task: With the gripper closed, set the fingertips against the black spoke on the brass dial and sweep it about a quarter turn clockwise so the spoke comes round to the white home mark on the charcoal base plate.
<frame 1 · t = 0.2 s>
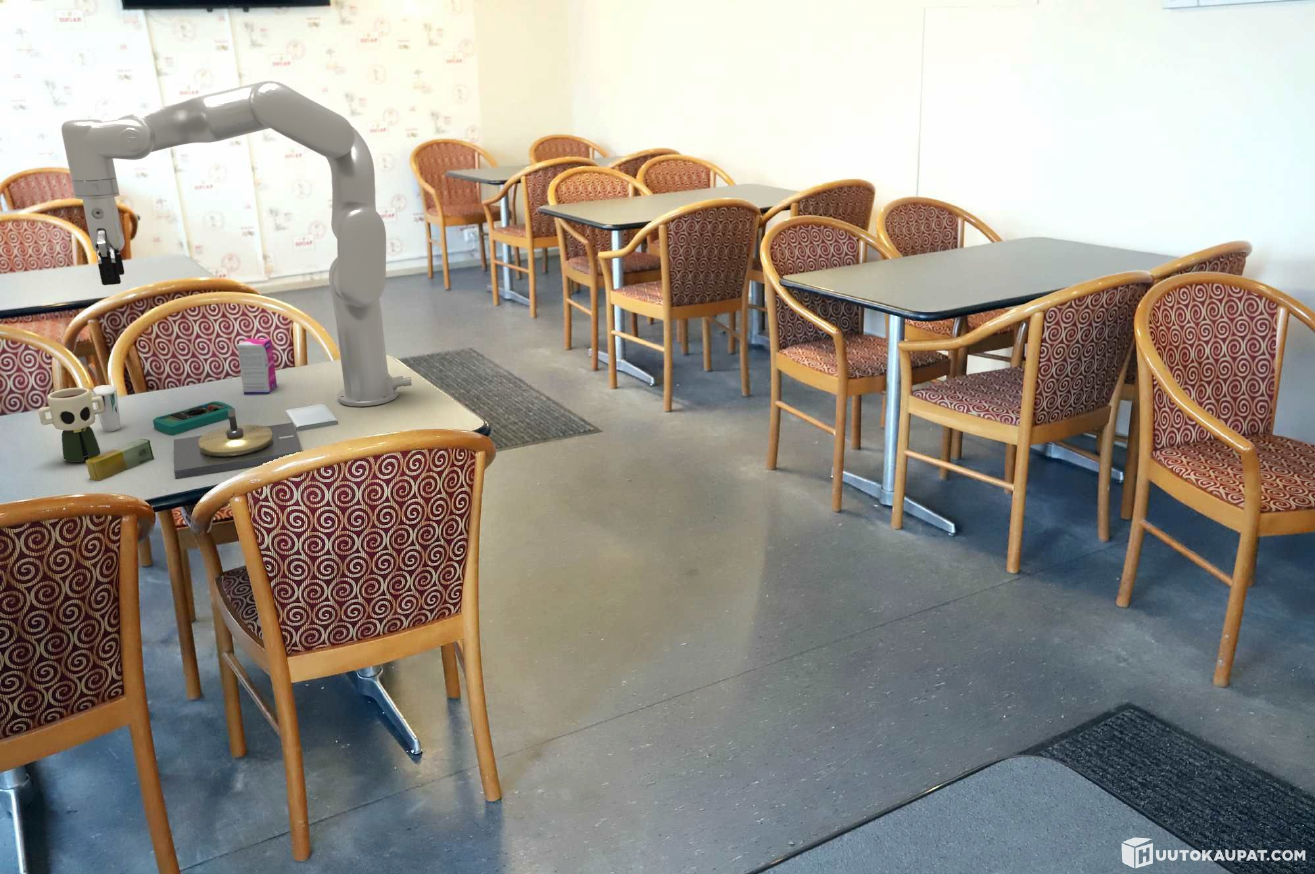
hand: (113, 279, 204), 31 cm above the table, tool pointing down, fingers open, 9 cm apart
medication box: (122, 470, 195), on the table
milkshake: (110, 430, 215), on the table
digital multimeter: (196, 425, 219), on the table
dial: (234, 431, 200), point 4 cm above the table, hinge at 0.0°
hard drive: (312, 422, 219), on the table
base plate: (238, 452, 201), on the table
character mug: (83, 459, 200), on the table
supplement box: (261, 391, 238), on the table
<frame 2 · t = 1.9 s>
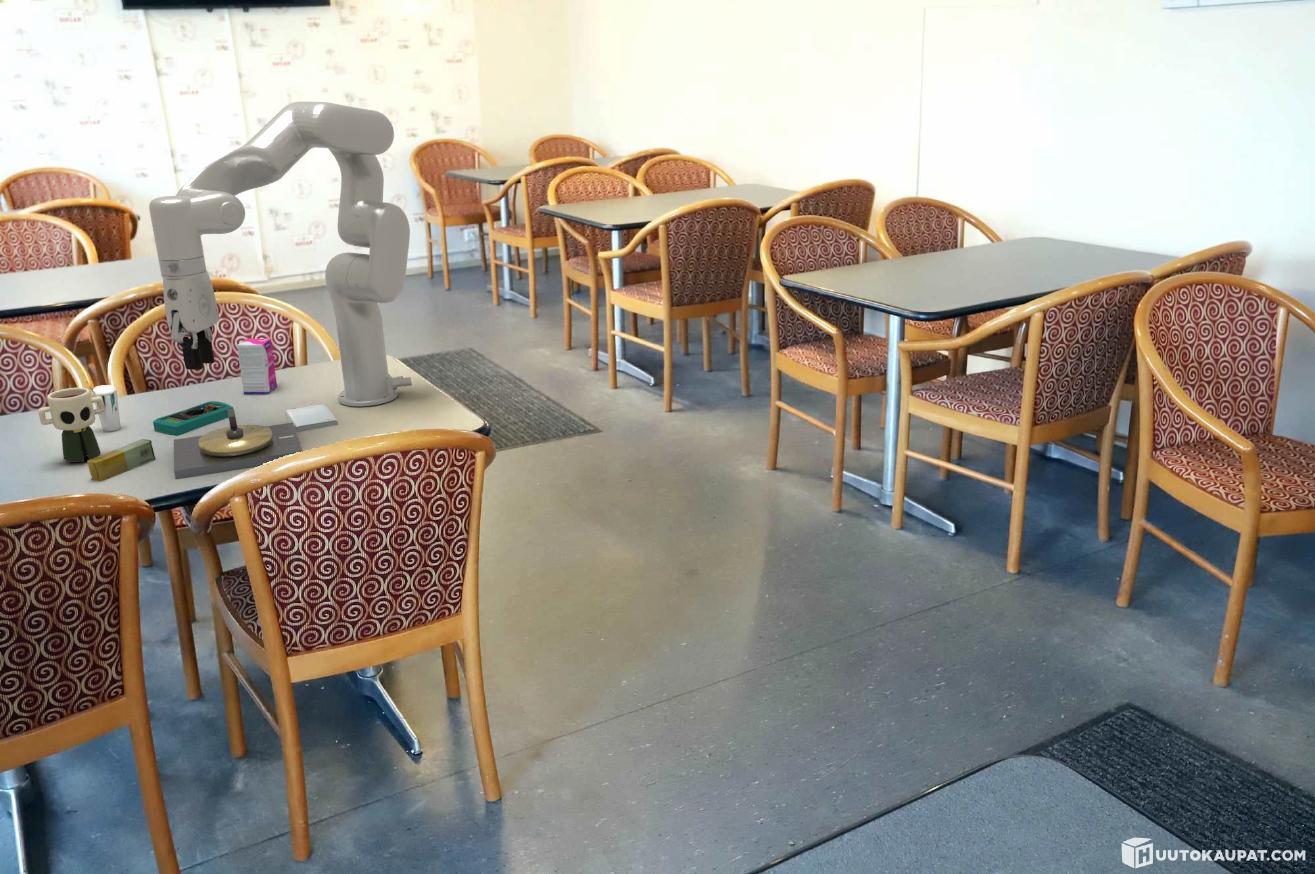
hand: (200, 365, 196), 17 cm above the table, tool pointing down, fingers open, 3 cm apart
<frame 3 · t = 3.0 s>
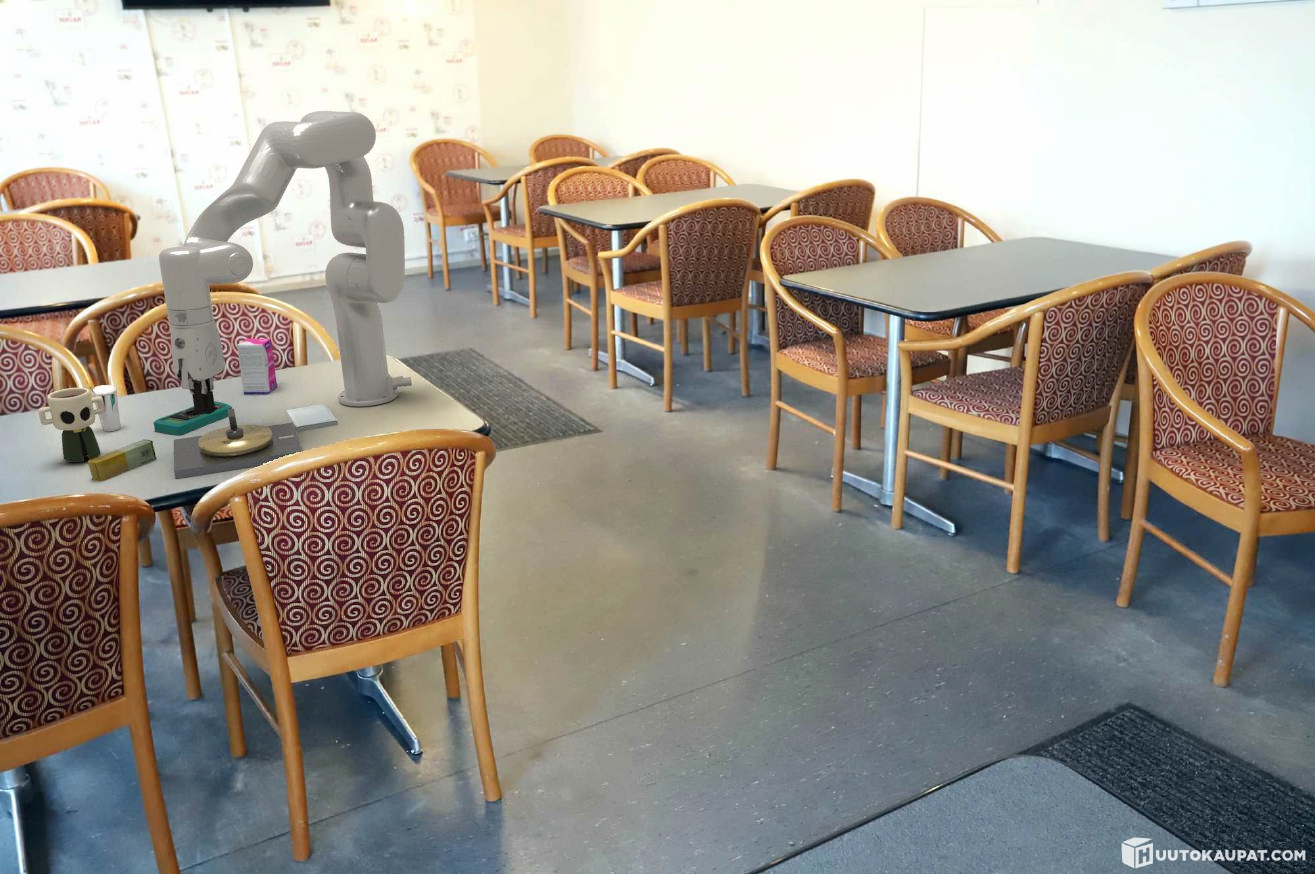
hand: (205, 412, 198), 8 cm above the table, tool pointing down, fingers closed
nothing on the table moved.
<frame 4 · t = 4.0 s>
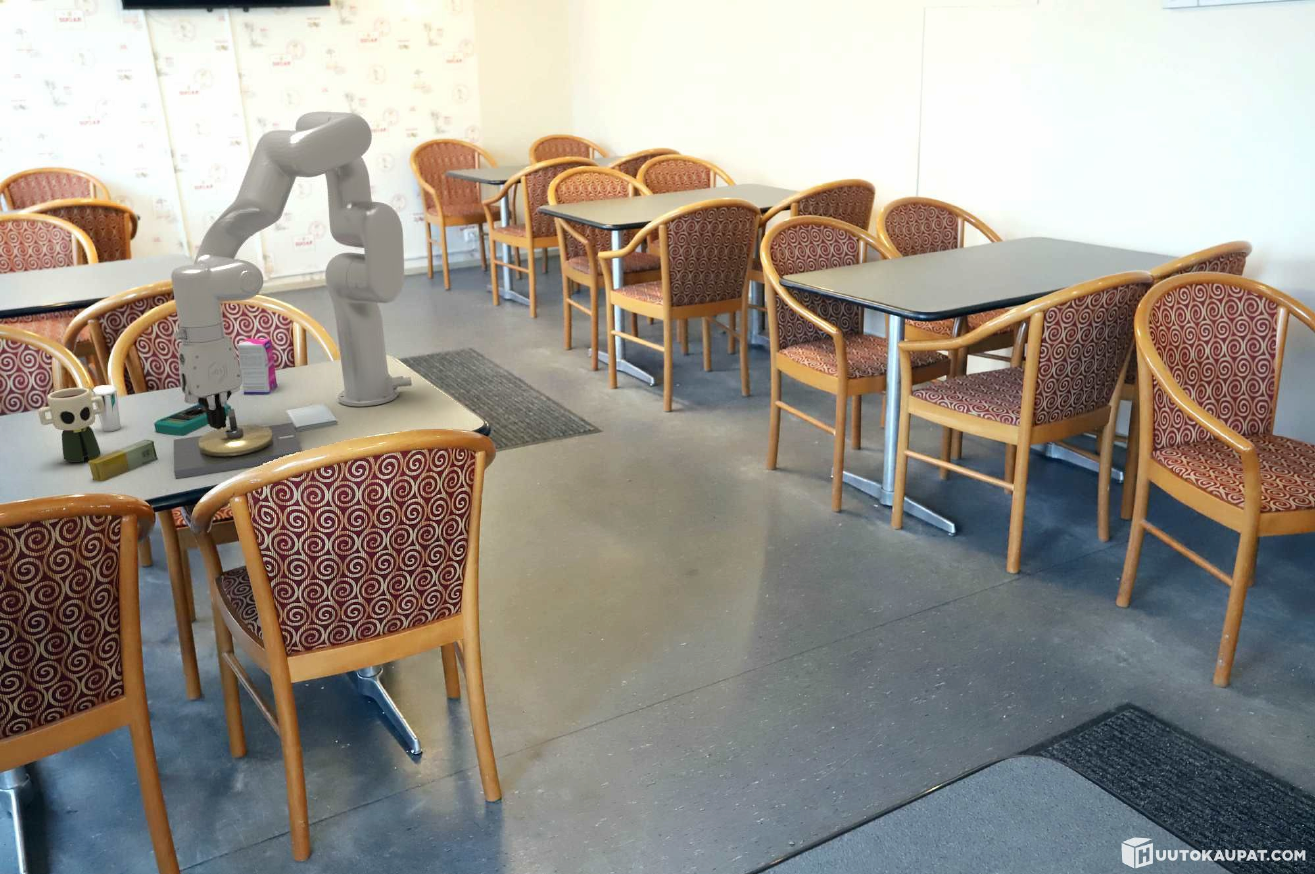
hand: (218, 426, 202), 4 cm above the table, tool pointing down, fingers closed
dial: (234, 431, 200), point 4 cm above the table, hinge at 0.0°, touching gripper
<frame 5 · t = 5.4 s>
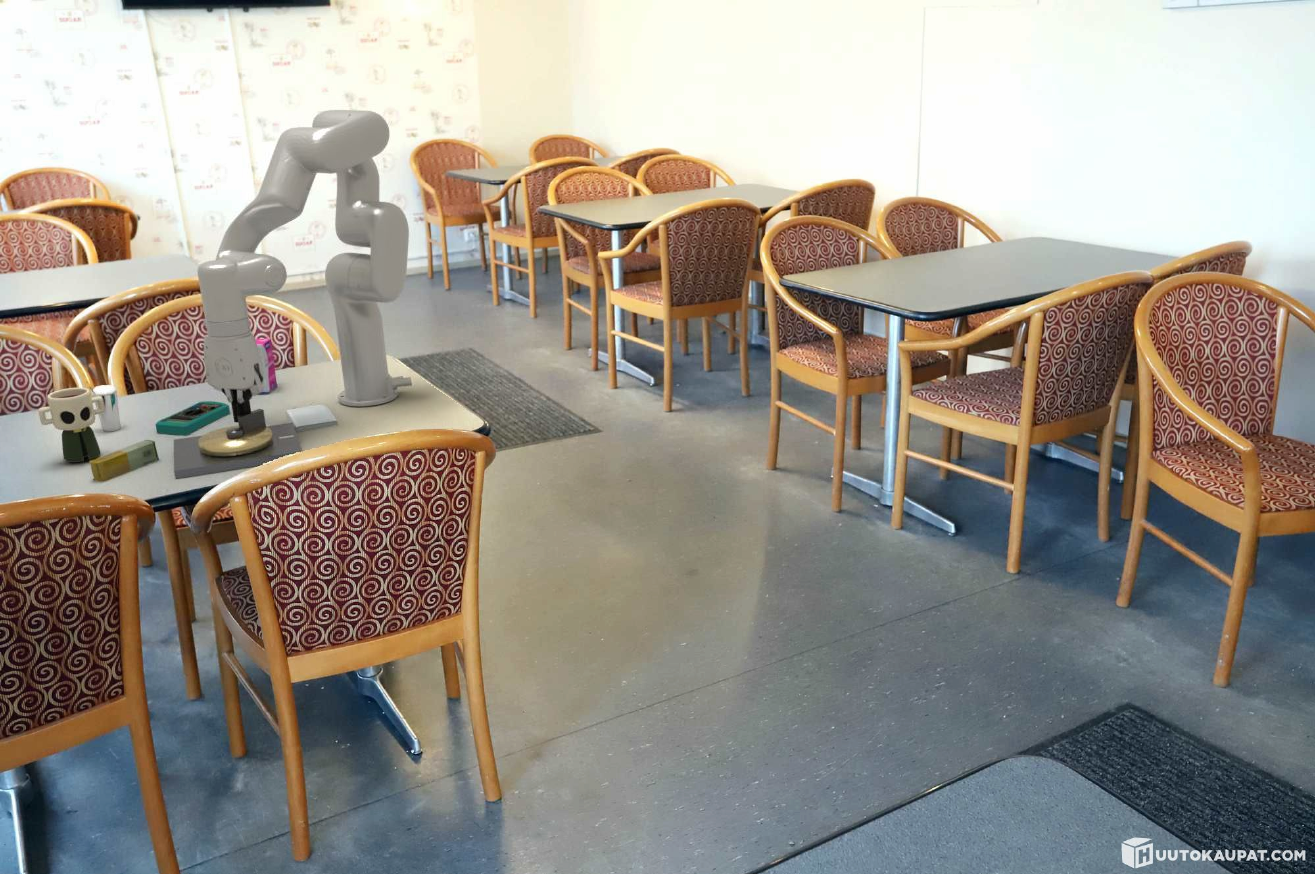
hand: (243, 420, 204), 5 cm above the table, tool pointing down, fingers closed
dial: (234, 431, 200), point 4 cm above the table, hinge at 56.6°, touching gripper
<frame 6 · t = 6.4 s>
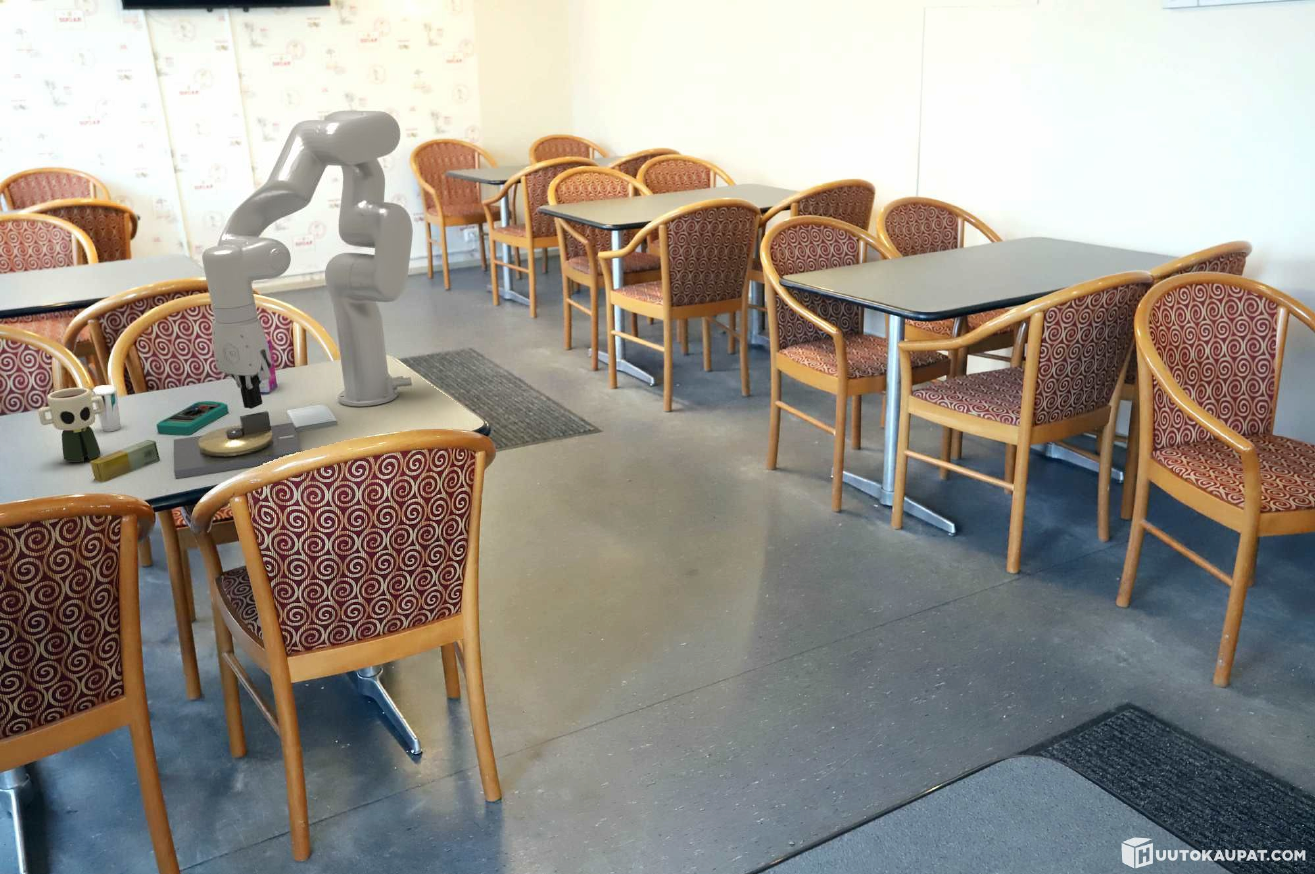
hand: (253, 405, 203), 8 cm above the table, tool pointing down, fingers closed
dial: (234, 431, 200), point 4 cm above the table, hinge at 78.3°
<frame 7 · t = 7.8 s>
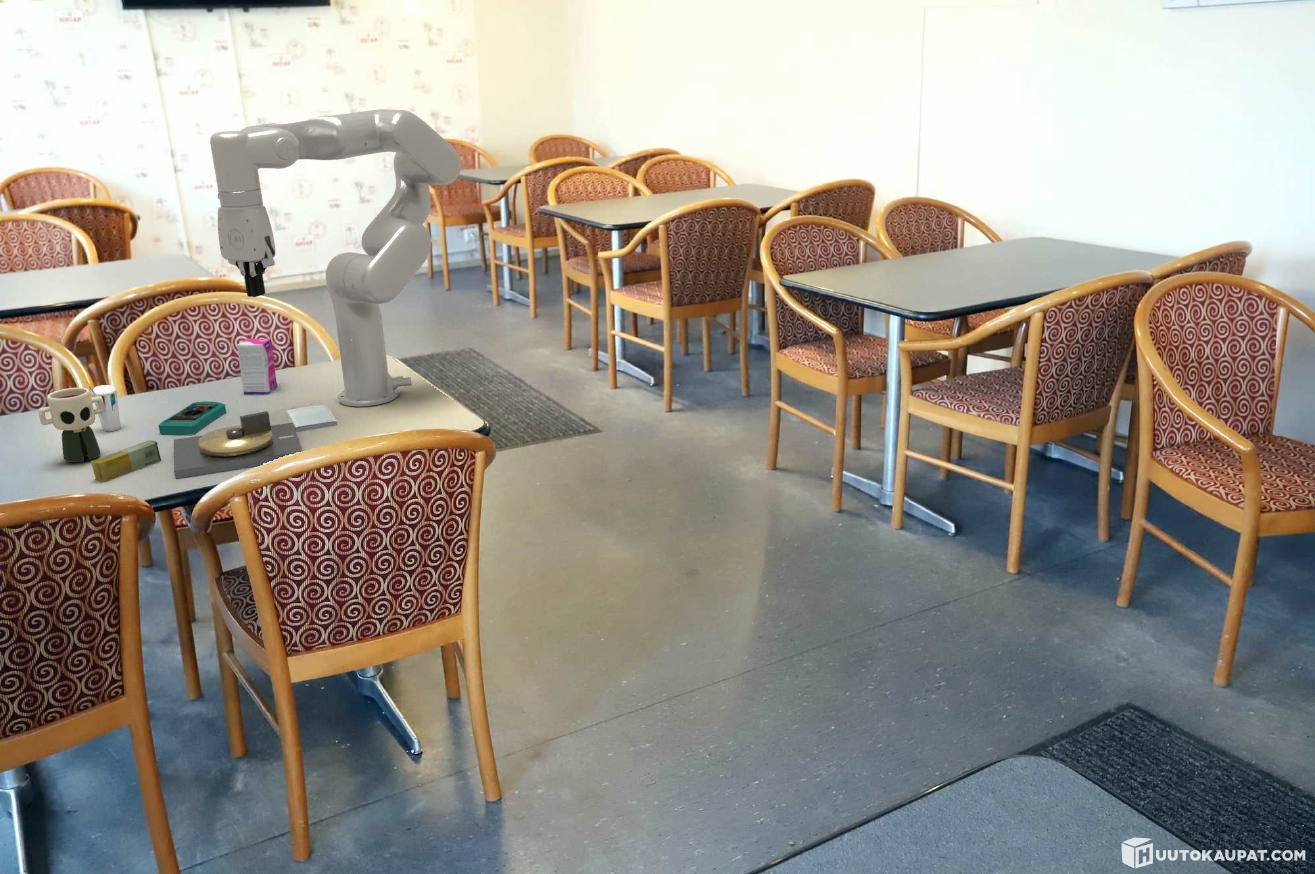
hand: (256, 295, 206), 27 cm above the table, tool pointing down, fingers closed
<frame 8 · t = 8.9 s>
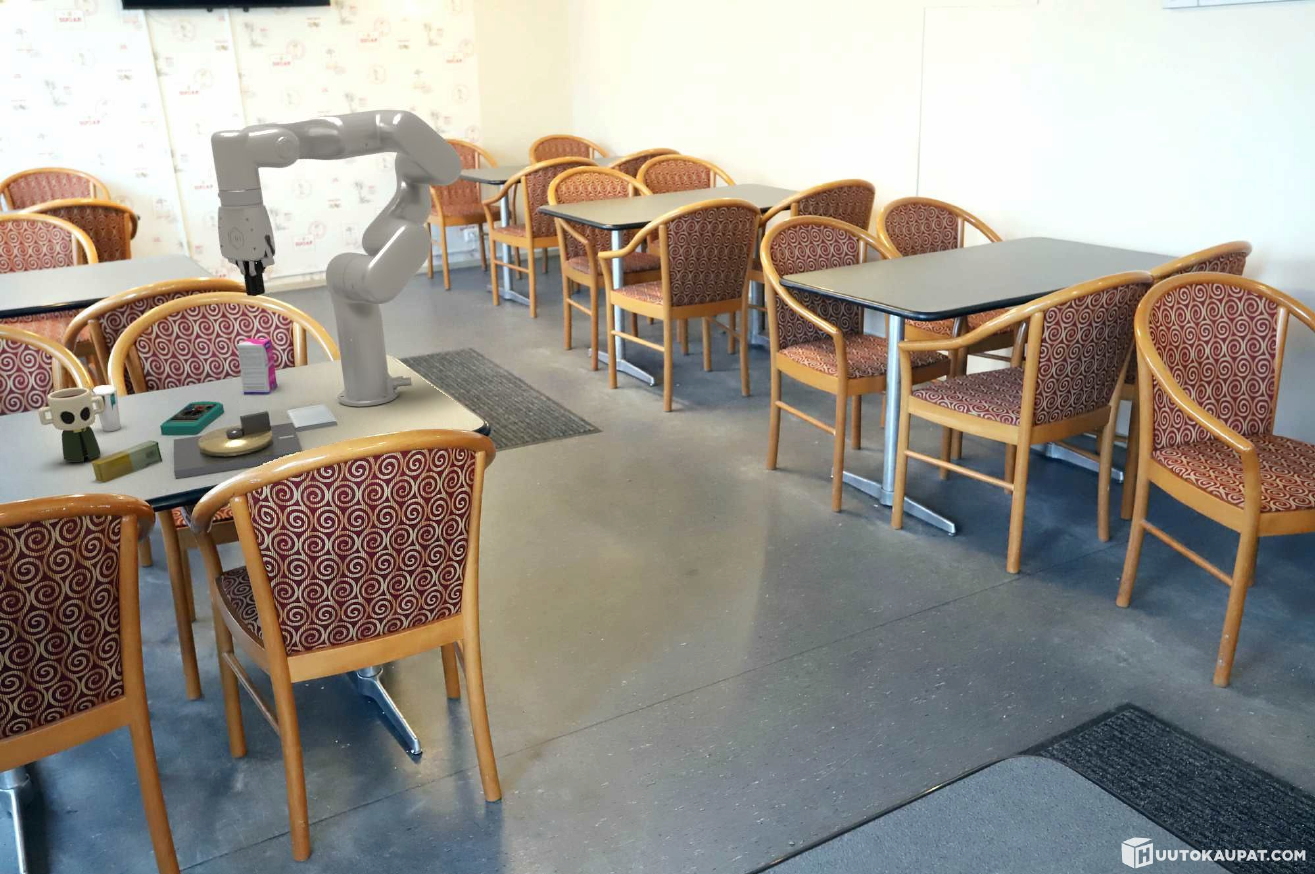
hand: (256, 294, 206), 27 cm above the table, tool pointing down, fingers closed
at the end: dial at +78° (first picture: +0°) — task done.
